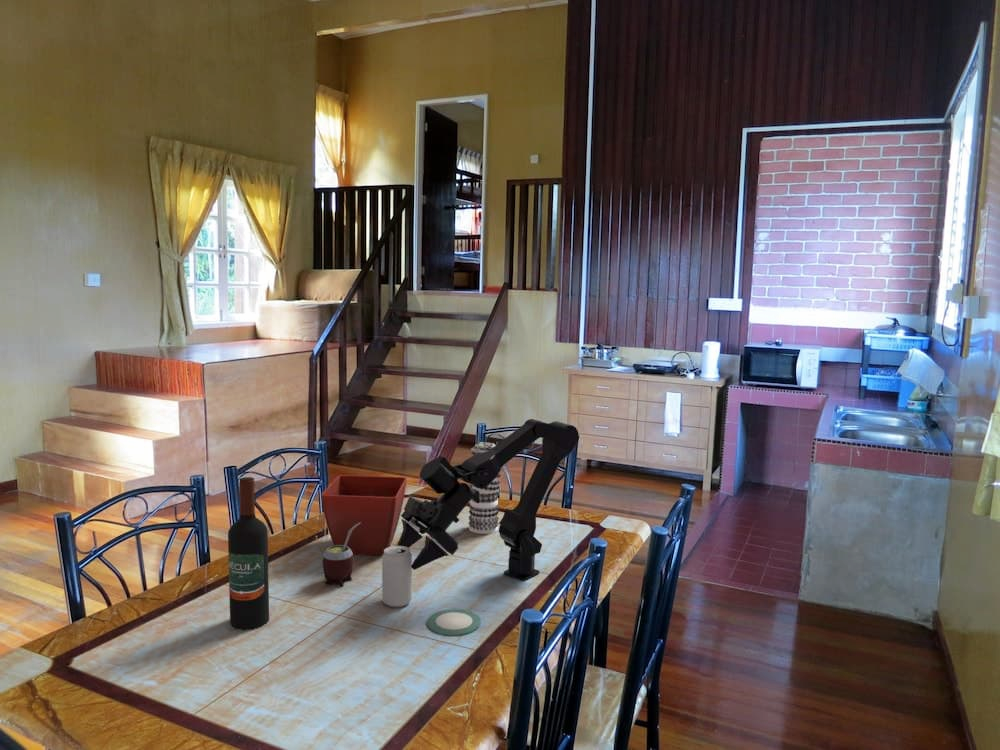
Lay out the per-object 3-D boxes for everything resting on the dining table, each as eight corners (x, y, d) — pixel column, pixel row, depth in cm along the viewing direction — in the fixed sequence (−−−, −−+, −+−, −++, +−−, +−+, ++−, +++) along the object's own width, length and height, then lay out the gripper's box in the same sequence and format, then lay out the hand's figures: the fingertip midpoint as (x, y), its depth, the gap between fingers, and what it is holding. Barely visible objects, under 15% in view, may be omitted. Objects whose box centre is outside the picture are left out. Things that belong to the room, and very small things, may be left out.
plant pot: (395, 561, 181) (396, 496, 179) (320, 559, 181) (319, 494, 179) (407, 535, 200) (407, 476, 198) (338, 533, 200) (338, 475, 198)
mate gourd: (319, 578, 169) (319, 517, 167) (352, 573, 173) (352, 513, 171) (327, 590, 163) (327, 526, 161) (361, 584, 166) (361, 522, 164)
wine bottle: (276, 616, 149) (274, 476, 146) (253, 632, 142) (250, 485, 139) (246, 610, 152) (243, 472, 148) (221, 626, 145) (218, 481, 141)
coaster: (452, 606, 156) (452, 604, 156) (491, 621, 149) (491, 619, 149) (416, 624, 147) (416, 621, 147) (456, 641, 141) (456, 638, 141)
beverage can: (406, 610, 154) (406, 556, 152) (377, 607, 155) (377, 553, 153) (415, 597, 160) (415, 546, 158) (388, 594, 161) (388, 543, 160)
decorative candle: (462, 525, 209) (463, 441, 206) (491, 522, 213) (493, 439, 210) (474, 535, 201) (476, 448, 198) (504, 531, 205) (506, 446, 202)
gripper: (409, 474, 166) (363, 527, 161) (446, 494, 150) (396, 554, 146) (439, 503, 171) (395, 555, 166) (478, 525, 155) (431, 584, 151)
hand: (403, 561), depth 157 cm, fingers open, 9 cm apart
